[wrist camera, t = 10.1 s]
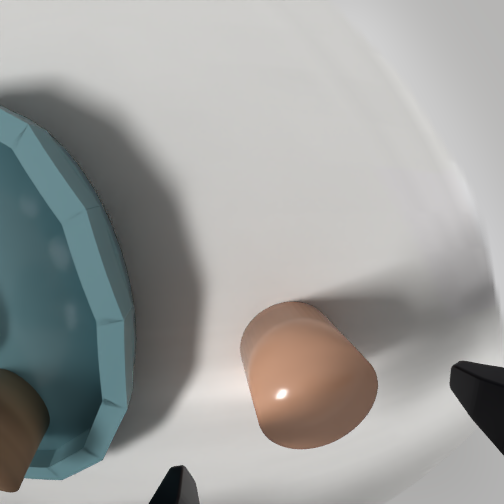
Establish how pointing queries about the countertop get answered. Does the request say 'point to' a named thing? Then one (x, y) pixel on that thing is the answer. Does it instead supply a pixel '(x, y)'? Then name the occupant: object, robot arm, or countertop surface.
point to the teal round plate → (62, 299)
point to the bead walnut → (19, 428)
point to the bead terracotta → (305, 376)
